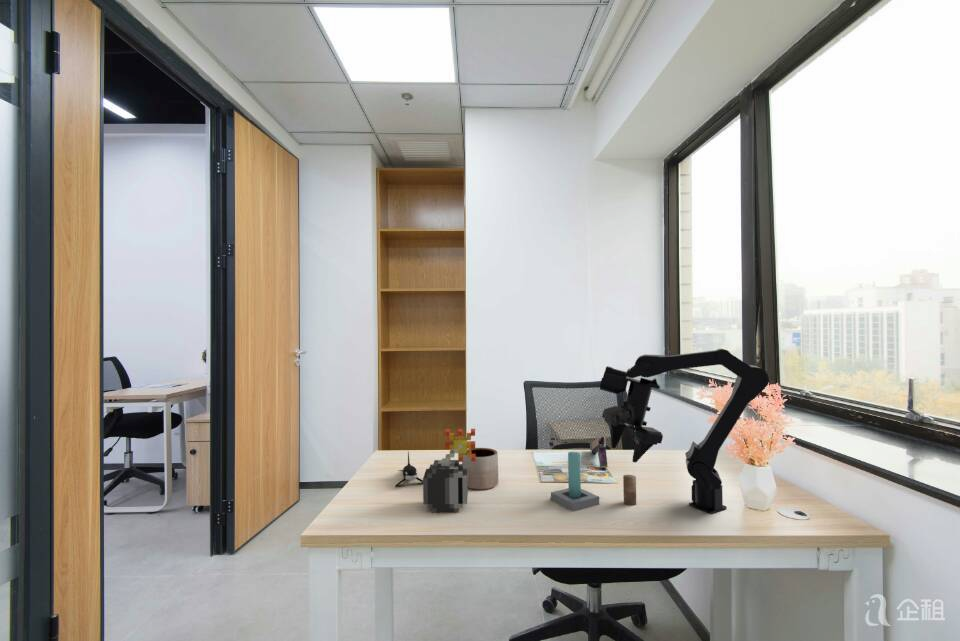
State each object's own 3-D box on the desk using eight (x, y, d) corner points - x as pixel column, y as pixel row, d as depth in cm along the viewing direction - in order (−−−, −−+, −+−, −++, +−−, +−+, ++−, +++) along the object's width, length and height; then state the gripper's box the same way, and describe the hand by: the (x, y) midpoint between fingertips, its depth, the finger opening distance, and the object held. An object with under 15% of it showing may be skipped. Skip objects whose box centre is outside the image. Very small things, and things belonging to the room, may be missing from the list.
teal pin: (583, 501, 122) (582, 453, 123) (576, 505, 120) (576, 455, 120) (573, 498, 125) (572, 450, 125) (566, 502, 122) (565, 453, 122)
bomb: (426, 501, 124) (425, 427, 124) (475, 500, 124) (475, 426, 124) (423, 513, 116) (422, 434, 116) (475, 512, 116) (475, 433, 116)
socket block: (599, 504, 121) (599, 496, 121) (572, 511, 116) (572, 503, 116) (576, 493, 128) (576, 486, 128) (550, 499, 124) (550, 492, 124)
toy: (429, 485, 133) (428, 450, 135) (395, 489, 130) (394, 452, 133) (420, 480, 153) (419, 449, 155) (390, 483, 150) (389, 451, 153)
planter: (489, 493, 130) (489, 459, 130) (455, 487, 134) (455, 455, 134) (503, 481, 140) (503, 449, 140) (471, 476, 144) (471, 446, 144)
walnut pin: (639, 504, 120) (638, 477, 121) (630, 506, 119) (629, 479, 119) (629, 500, 123) (629, 474, 123) (621, 502, 122) (620, 476, 122)
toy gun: (598, 471, 168) (596, 443, 171) (608, 466, 148) (606, 435, 152) (591, 471, 168) (589, 442, 171) (601, 466, 148) (598, 435, 152)
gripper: (593, 386, 130) (580, 439, 131) (635, 408, 113) (620, 468, 114) (624, 391, 134) (612, 442, 135) (670, 412, 117) (655, 470, 118)
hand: (623, 454), depth 125 cm, fingers open, 9 cm apart
